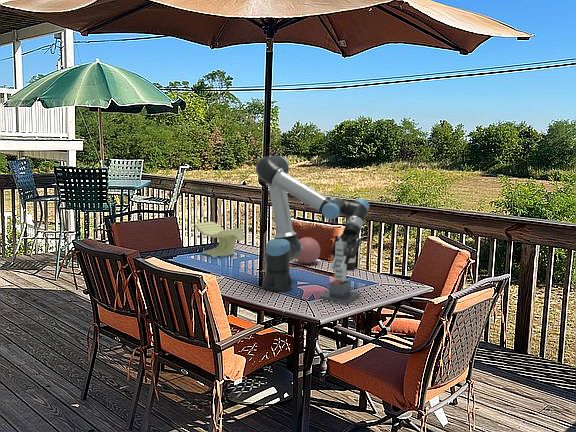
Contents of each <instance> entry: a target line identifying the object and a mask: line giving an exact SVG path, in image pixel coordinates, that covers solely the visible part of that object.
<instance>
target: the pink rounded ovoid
mask: <svg viewBox="0 0 576 432" xmlns="http://www.w3.org/2000/svg"><path fill="white" fill-rule="evenodd" d="M298 240H299V241H300V242H301V246H302V249H301V253H300V254H299V256H298V257H297V258H296V260H297V261H298V262H300V263H301V264H306V265H310V264H313V263H314V262H315V263H316V261H317V260H318V258H319V257H320V255H321V246H320V244H319V242H318V241H317V240H316V239H314V238H312V237H309V236H305V237H302V238H300V239H298Z"/></svg>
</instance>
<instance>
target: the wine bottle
mask: <svg viewBox="0 0 576 432" xmlns="http://www.w3.org/2000/svg"><path fill="white" fill-rule="evenodd" d="M345 218H346V220H345V224H346V223H347V221H348V218H349V217H347V216H345ZM341 240H342V239H340V241H341ZM355 243H356V242H354V243H353V247H352V250H353V248H354V246H355ZM347 250H348V244H347ZM351 253H352V252H351ZM356 259H357V254H356V255H355V258H350V260H349V262H348V264H347V267H346V271H354V270H356Z"/></svg>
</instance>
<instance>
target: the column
mask: <svg viewBox="0 0 576 432" xmlns="http://www.w3.org/2000/svg"><path fill="white" fill-rule="evenodd" d="M346 254H347V241H341V240H340V241H337V242H335V268H334V280H335V281H341V284H344V283H346V281H347V270H346V267H347V264H346V266H345V268H344V271H342V270H341V268H340V267H341V264H342V262H343V259H344V257H345V256H347V255H346Z"/></svg>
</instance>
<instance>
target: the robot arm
mask: <svg viewBox="0 0 576 432" xmlns="http://www.w3.org/2000/svg"><path fill="white" fill-rule="evenodd" d="M289 170H290V166H289V162H288V161H287V159H286V158H285V157H283V156H280V155H270V156H264V157H261V158H260V159H259V160H258V161H257V162H256V165H255V173H256V174H257V176H258V178H259V179H261V180H262V181H264V183H265V185H266V186H267V187H268V190H269V196H270V201H271V207H272V208H271V209H272V213H273V220H274V225H275V235H274V237H273V238H274V239H270V240H269V241H267V242H266V244H265V272H264V277H263V279H262V283H261V288H262V289H263V290H264V289H266V290H265V291H267V290H269V291H268V292H274V291H279V292H281V293H282V292H288V291H291V290H292V289H293V288H294V283H293V280H292V276H291V274H290V263H291V262H292V261H294V260H295V259H296V258H297V257H298V256H299V254H300V253H301V249H302V246H301V242H300V241H299V240H300V239H298V234H297V232H295V231H294V229H293V221H292V215H291V210H290V204H289V196H288V194H290V195H292V196H293V197H295V198H297V199H298V200H300V201H301V202H303V203H304V204H307V205H308V206H309V207H311V208H313V209H315V210H316V211H318V212H320V213H321V214H322V215H323V217H324V218H325V219H328V220H333V219H336V218H338V217H340V216H344V217H349V218H348V221H347V223H346V222H345V226H344V228H343V231H342V234H340V235H339V236H338V235H335V236H334V241H333V244H332V247H331V250H330V253H331V256H332V258H331V265H330V267H331V270H334V271H335V242H337V241H347V244H348V250H347V254H346V255H347V256H345V257H344V259H343V262H342V264H341V267H340V268H341V270H342V271H344V268H345V266H346V264H348V262H349V260H350V258H355V255H356V256H357V253H358V250H359V248H360V246H361V245H362V243H363V241H362V239H361V238H359V235H360V233H361V231H362V228H363V225H364V223H365V220H366V217H367V215H368V213H369V209H370V203H369V201H368V200H366V199H365V198H357V199H355V201H350V200H346V199H342V198H339V197H330V198H329V197H328V196H325V195H324V194H322V193H320V192H318V191H317V190H316V189H314V188H312V187H310V186H309V185H307V184H304V183H303V182H302V181H300V180H299V179H296V178H295V177H293V176H292V175H290V174H288V173H289ZM341 239H342V240H341ZM354 242H356V243H355V246H354V248H353V250H352V247H353V243H354ZM351 252H352V253H351ZM296 260H297V259H296Z"/></svg>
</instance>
